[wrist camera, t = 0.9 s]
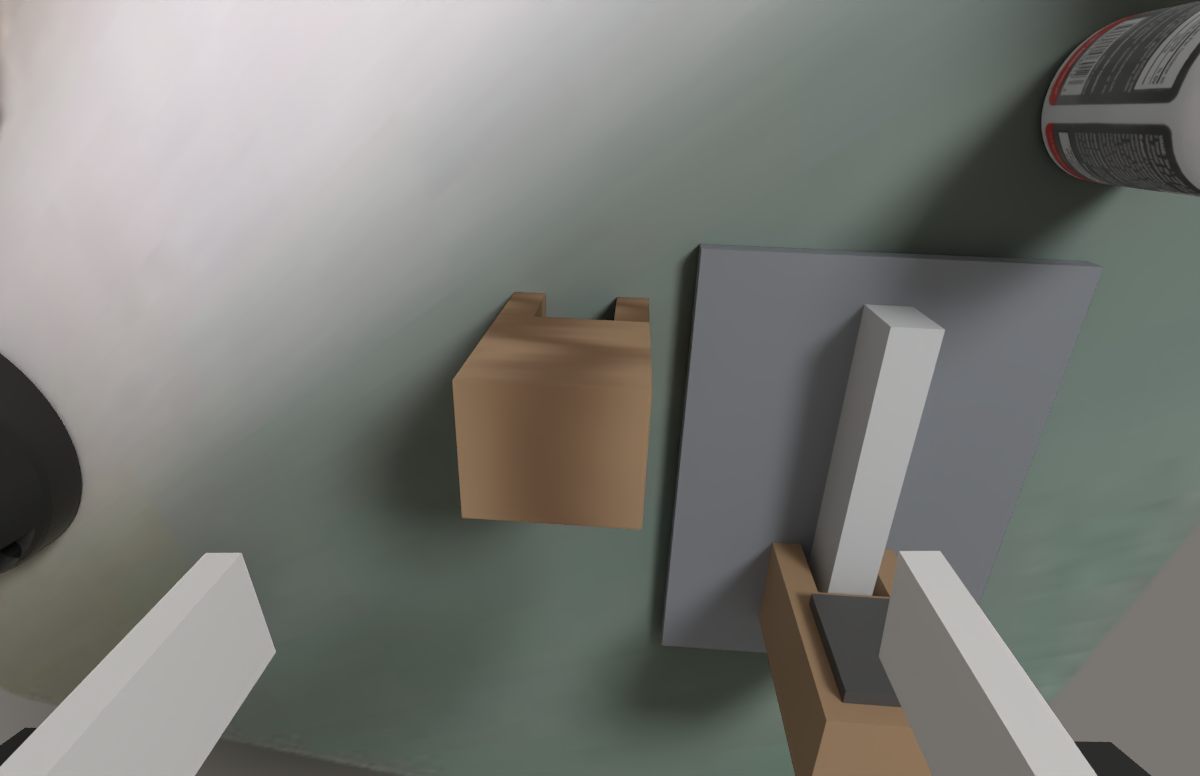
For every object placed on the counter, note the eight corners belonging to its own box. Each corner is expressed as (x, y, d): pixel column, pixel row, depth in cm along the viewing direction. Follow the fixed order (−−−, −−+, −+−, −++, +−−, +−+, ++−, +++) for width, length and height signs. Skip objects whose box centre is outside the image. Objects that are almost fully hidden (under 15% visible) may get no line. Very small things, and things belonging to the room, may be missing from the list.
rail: (661, 631, 35) (669, 837, 25) (699, 243, 26) (735, 325, 16) (947, 652, 35) (1072, 872, 25) (1087, 261, 26) (1373, 357, 16)
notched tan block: (517, 404, 30) (463, 532, 21) (514, 292, 28) (452, 380, 19) (640, 411, 30) (640, 544, 21) (648, 298, 27) (652, 391, 18)
